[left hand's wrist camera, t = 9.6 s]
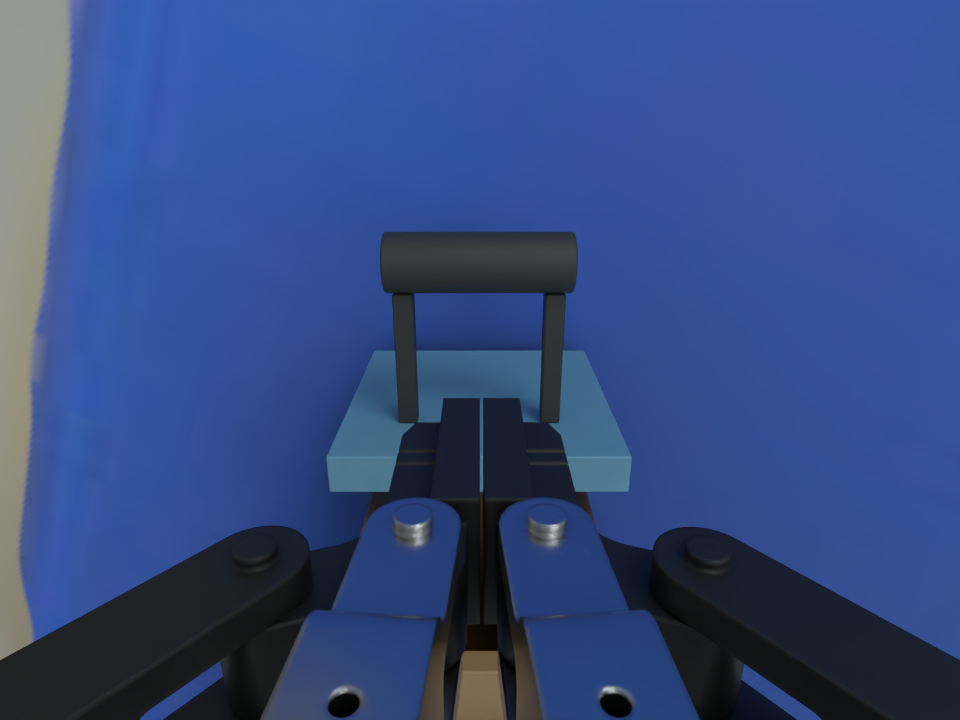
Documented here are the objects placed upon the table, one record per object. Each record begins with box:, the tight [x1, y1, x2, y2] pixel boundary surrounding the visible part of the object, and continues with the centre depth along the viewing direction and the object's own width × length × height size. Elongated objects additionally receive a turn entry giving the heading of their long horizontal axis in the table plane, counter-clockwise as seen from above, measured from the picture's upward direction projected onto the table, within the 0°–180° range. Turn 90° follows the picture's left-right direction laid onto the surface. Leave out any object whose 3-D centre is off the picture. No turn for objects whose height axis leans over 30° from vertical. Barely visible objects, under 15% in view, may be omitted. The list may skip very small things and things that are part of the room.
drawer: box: [326, 232, 632, 651], centre depth 24 cm, size 26×9×9 cm, turn 0°
